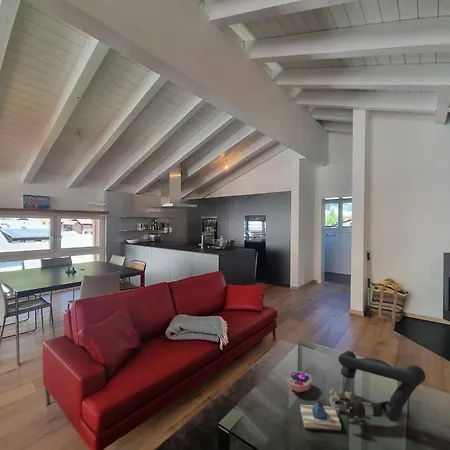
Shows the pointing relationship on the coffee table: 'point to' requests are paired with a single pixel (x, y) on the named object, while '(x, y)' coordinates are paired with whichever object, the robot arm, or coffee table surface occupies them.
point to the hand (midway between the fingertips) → (336, 407)
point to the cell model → (299, 381)
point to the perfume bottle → (319, 410)
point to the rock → (337, 396)
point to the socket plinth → (320, 424)
